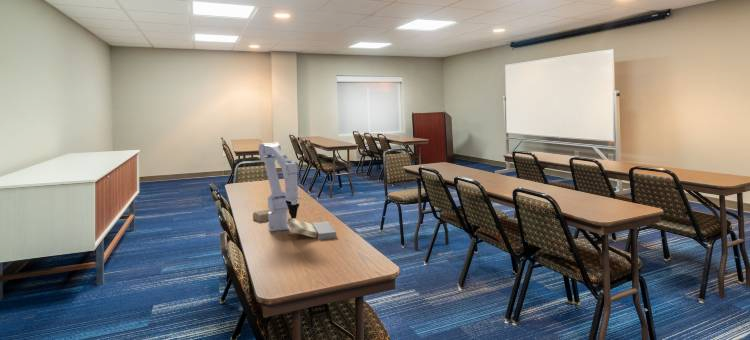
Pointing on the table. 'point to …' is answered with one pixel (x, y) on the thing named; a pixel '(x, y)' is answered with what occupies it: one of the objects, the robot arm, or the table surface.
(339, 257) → the table surface
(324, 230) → the board
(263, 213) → the brick
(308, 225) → the cream flat slab
